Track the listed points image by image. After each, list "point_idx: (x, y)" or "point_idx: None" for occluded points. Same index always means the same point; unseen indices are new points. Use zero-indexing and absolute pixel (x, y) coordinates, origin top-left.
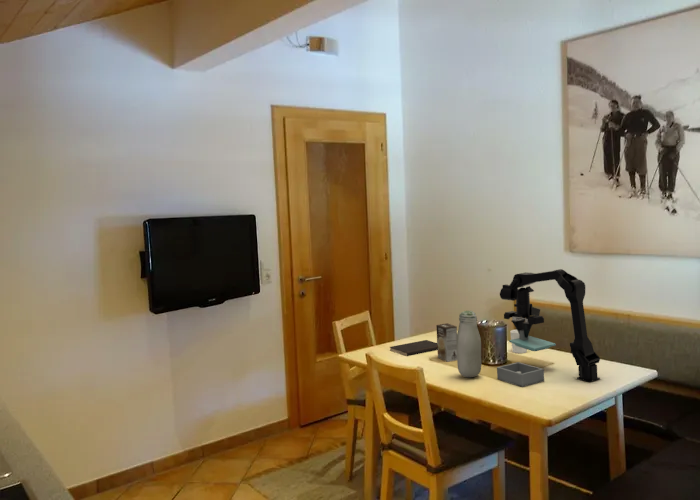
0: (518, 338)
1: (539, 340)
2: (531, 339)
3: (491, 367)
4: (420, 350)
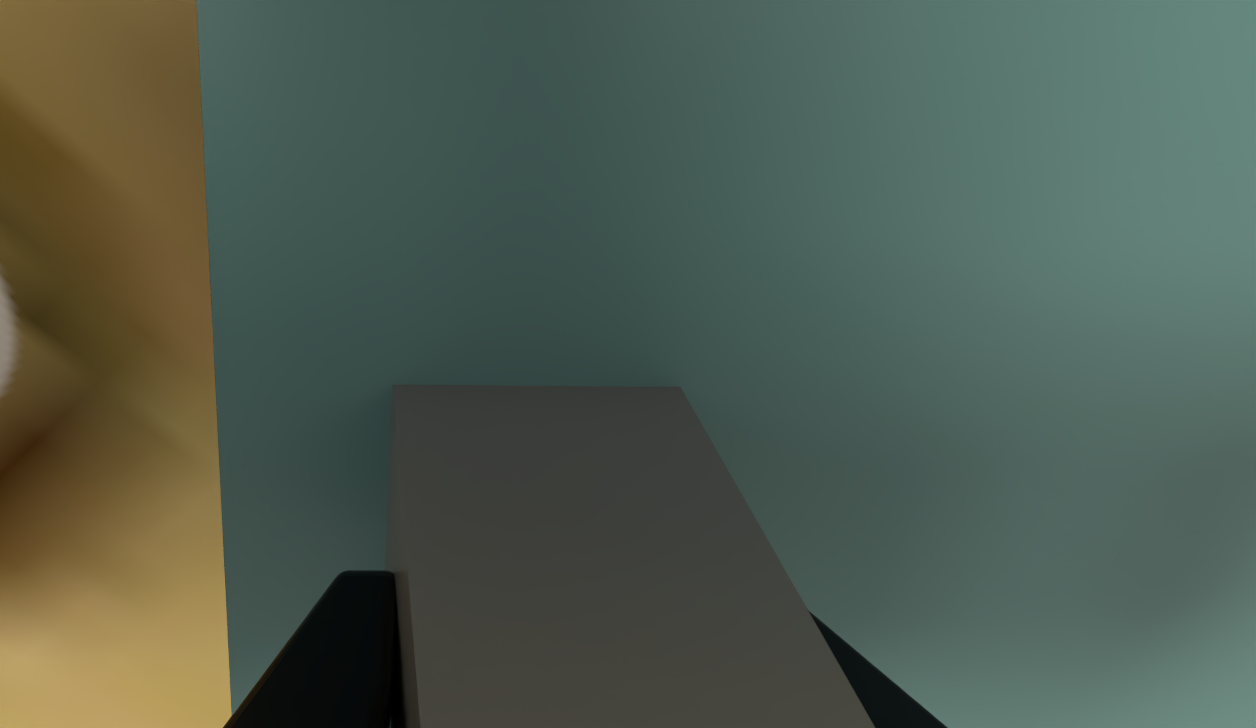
0: (253, 626)
1: (1159, 102)
2: (791, 280)
3: (86, 622)
4: None
